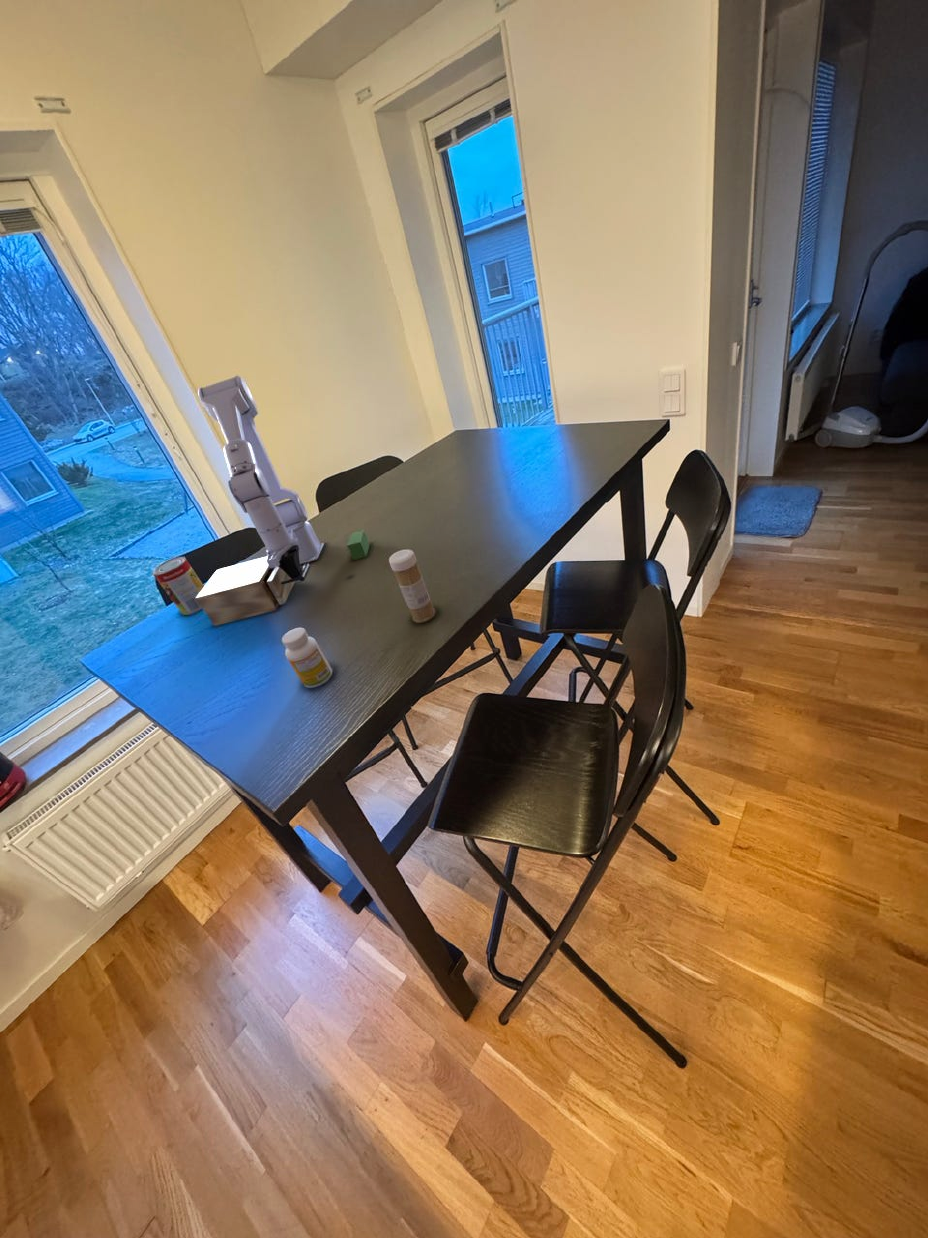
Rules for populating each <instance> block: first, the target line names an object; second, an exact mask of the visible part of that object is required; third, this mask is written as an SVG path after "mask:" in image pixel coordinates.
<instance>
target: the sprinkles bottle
mask: <svg viewBox="0 0 928 1238" xmlns="http://www.w3.org/2000/svg"><path fill="white" fill-rule="evenodd" d="M388 562H389V566H390V567H391V570H392V572H394V575H395V577H396V580H397V582H398V586H399V588H400V590H401V593H402V596H403V598H404V600H405V603H406V606H407V607H408V610H409V613H410V614H411V618H412V621H414V622H415V623H418V624H420V623H426V622H428V621H430V620H432V618H433V617H434V616H435V615H436V609H435V608H434V606H433V604H432V600H431V597H430V594H429V592H428V589H427V587H426V584H425V581H424V578H423V576H422V573H421V571H420V569H419V566H418V562H417V556H416V555H415V553H414V551H413V550H411V549H401V550H398V551H396V552H394V553H393V554H391V556H390V557H389V558H388Z"/></svg>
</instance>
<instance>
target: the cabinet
mask: <svg viewBox="0 0 928 1238" xmlns="http://www.w3.org/2000/svg"><path fill="white" fill-rule="evenodd" d="M266 560H267V556H263V557H260V558H255V559H252V560H247V561H245V562H240V563H237V564H234V565H230V566H226V567H222V568H219V569H216V571H215V572H214V573H213V574H212V575H211V577H210V578H209V579H208V581H207V582H206V583H205V584H204V587H203V589H202V590H201V591H200V593H199V594H198V595H197V597H196V598H195V599H196V600H197V602H198V603H199V605H200V606H201V607H202V610H203V612H204V613H205V614H206V616H207V618H208V619H209V620H210V622H211V624H212V625H213V626H214V627H216V626H220V625H224V624H228V623H232V622H236V621H239V620H243V619H247V618H252V617H255V616H260V615H264V614H267V613H271V612H272V613H273V612H274V611H275V612H276V611H277V610H278V608H279V606H280V604H279V602H278V601H276V603H275V604H274V603H273V601H272V599H271V597H270V596H269V594H268V592H267V591H266V589H265V587H264V586H263V584H262V583H261V582H262V581H263V579H264V577H265V576H266V574H267V572H268V571H269V569H270V567H269V565H268V563H267V561H266Z"/></svg>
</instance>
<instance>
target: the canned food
mask: <svg viewBox="0 0 928 1238" xmlns="http://www.w3.org/2000/svg"><path fill="white" fill-rule="evenodd" d="M151 573H152V575H153V576H154V578H155V579H156V580H157V582H158V583H159V584H160V586H161V587H162V588H163V590H164V591H165V593H166V594H167V596H168V597H169V598H170V600H171V601H172V602H173V604H174V605H175V607H176V608H177V609H178V610H179V612H180V613H181V615H183V616H189V615H193V614H195V613H198V612H200V611H202V610H203V609H202V607H201V606H200V605H199V603H198V602H197V600H196V599H195V598H196V597H197V595H198V594H199V593H200V591H201V590H202V589H203V587H204V586H205V584H203V582H202V581H201V579H200V577H199V576H198V575H197V573H196V572H195V570H194V569H193V567H192V566H191V564H190V563H189V562H188V560H187V558H186V557H185V556H177V557H175V558H171V559H169V560H167V561H165V562H163V563H161V564H159V565H158V566H157V567H156V568H154V569H153V571H152V572H151Z"/></svg>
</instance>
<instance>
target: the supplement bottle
mask: <svg viewBox="0 0 928 1238" xmlns="http://www.w3.org/2000/svg"><path fill="white" fill-rule="evenodd" d="M281 642H282V644H283V645H284V647H285V651H284V653H285V657H286V659H287V661H288V662H289V664H290V666H291V667H292V669H293V671H294V672H295V674H296V675H297V678H299V680H300V682H301V683H302V684H303V685H304V687H306V688H308V689H313V688H314V689H315V688H318V687H320V686H322V685H325V683H327V682H328V681H329V680H330V679H331V677H332V675H333V668H332V666H331V665H330V663H329V661H328V660H327V658H326V656H325V655H324V653H323V651H322V648H321V647H320V644H319V643H318V642H317V640H316V639H315V638H314V637H312V636H309V634H308V632H307V631H306V629H305V628H304V627H295V628H292V629H290V630H288V631H287V632H286V633H285V634H284V635H282V638H281Z"/></svg>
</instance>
